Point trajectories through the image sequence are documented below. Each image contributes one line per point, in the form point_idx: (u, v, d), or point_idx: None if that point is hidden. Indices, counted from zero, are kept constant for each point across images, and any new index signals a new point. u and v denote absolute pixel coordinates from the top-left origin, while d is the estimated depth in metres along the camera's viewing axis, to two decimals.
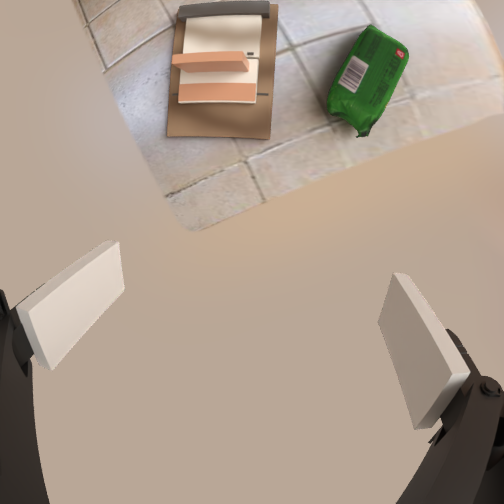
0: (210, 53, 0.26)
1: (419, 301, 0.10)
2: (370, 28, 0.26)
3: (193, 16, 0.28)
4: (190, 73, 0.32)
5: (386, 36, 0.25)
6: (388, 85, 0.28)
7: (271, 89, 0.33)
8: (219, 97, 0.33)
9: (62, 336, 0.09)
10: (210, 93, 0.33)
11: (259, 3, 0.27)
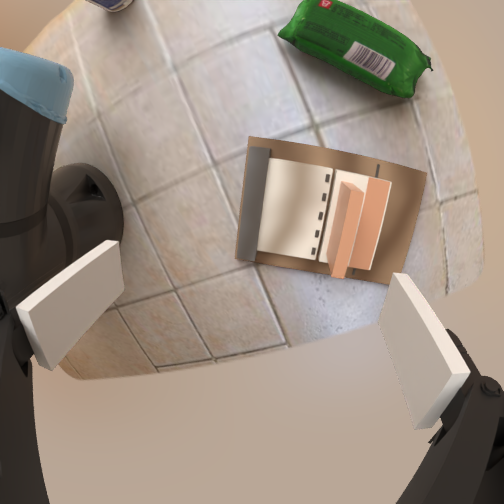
0: (345, 230, 0.24)
1: (419, 301, 0.10)
2: (293, 33, 0.22)
3: (257, 242, 0.32)
4: None
5: (301, 16, 0.21)
6: (375, 23, 0.19)
7: (372, 159, 0.28)
8: (378, 222, 0.29)
9: (62, 336, 0.09)
10: (370, 232, 0.29)
11: (252, 159, 0.28)
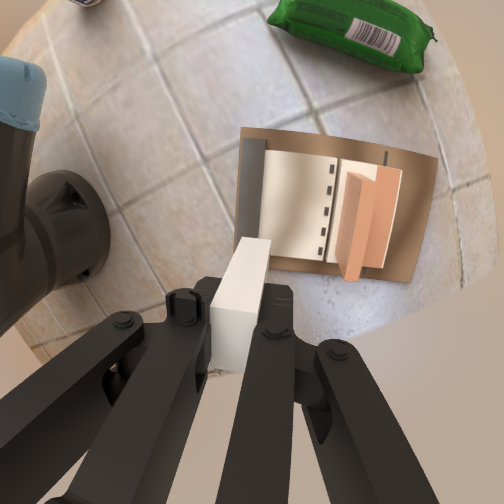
0: (357, 227, 0.21)
1: (259, 258, 0.12)
2: (285, 17, 0.19)
3: None
4: None
5: None
6: None
7: (379, 146, 0.25)
8: (389, 215, 0.26)
9: None
10: (381, 226, 0.26)
11: (246, 151, 0.25)
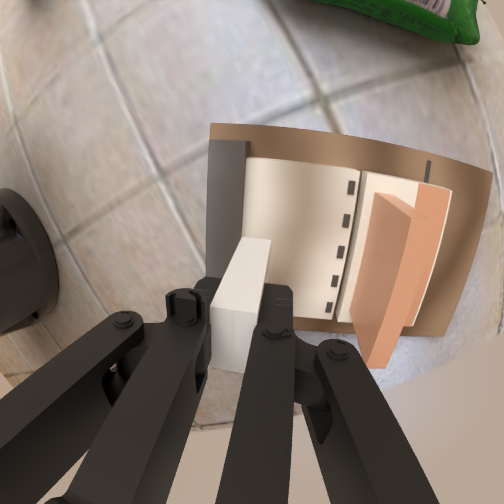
0: (395, 295, 0.12)
1: (259, 258, 0.12)
2: None
3: None
4: None
5: None
6: None
7: (420, 153, 0.16)
8: (430, 256, 0.16)
9: None
10: None
11: (216, 161, 0.15)
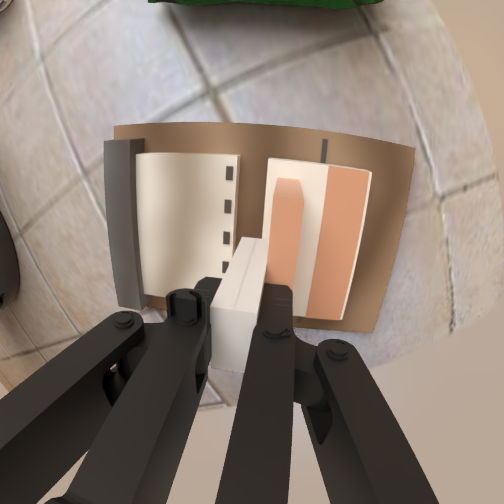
0: (270, 280, 0.12)
1: (258, 258, 0.12)
2: None
3: (140, 283, 0.20)
4: None
5: None
6: None
7: (313, 132, 0.16)
8: (351, 244, 0.17)
9: None
10: (338, 261, 0.18)
11: (109, 159, 0.16)
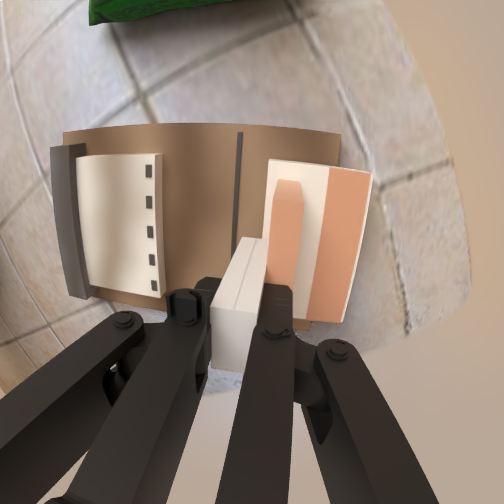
0: None
1: (258, 258, 0.12)
2: (92, 9, 0.11)
3: (84, 274, 0.20)
4: None
5: None
6: None
7: (228, 126, 0.17)
8: (352, 246, 0.17)
9: None
10: (338, 264, 0.17)
11: (54, 163, 0.17)
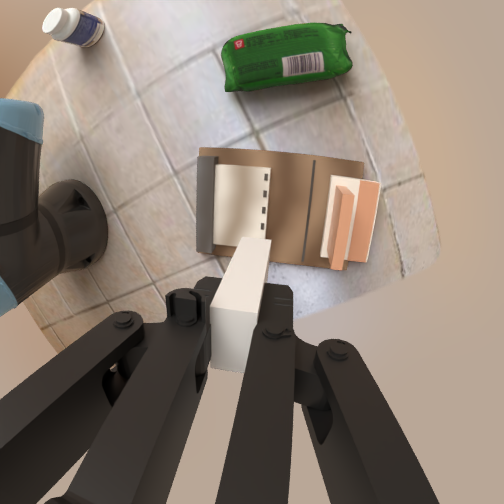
0: (339, 228, 0.28)
1: (259, 258, 0.12)
2: (235, 84, 0.28)
3: (212, 236, 0.37)
4: None
5: (231, 66, 0.27)
6: (285, 31, 0.24)
7: (308, 156, 0.33)
8: (371, 219, 0.33)
9: None
10: (364, 228, 0.33)
11: (200, 166, 0.33)
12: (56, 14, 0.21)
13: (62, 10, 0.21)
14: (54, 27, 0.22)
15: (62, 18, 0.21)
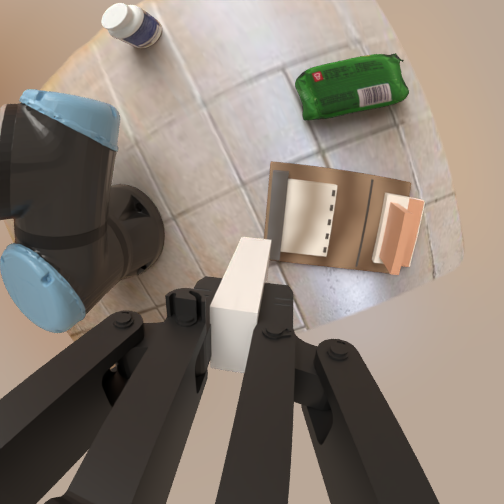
0: (400, 240, 0.32)
1: (259, 258, 0.12)
2: (318, 114, 0.32)
3: (281, 245, 0.40)
4: None
5: (312, 97, 0.31)
6: (355, 64, 0.28)
7: (367, 176, 0.37)
8: (415, 231, 0.37)
9: None
10: (410, 238, 0.37)
11: (275, 181, 0.37)
12: (120, 10, 0.23)
13: (127, 6, 0.23)
14: (119, 23, 0.24)
15: (127, 14, 0.24)
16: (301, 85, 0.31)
